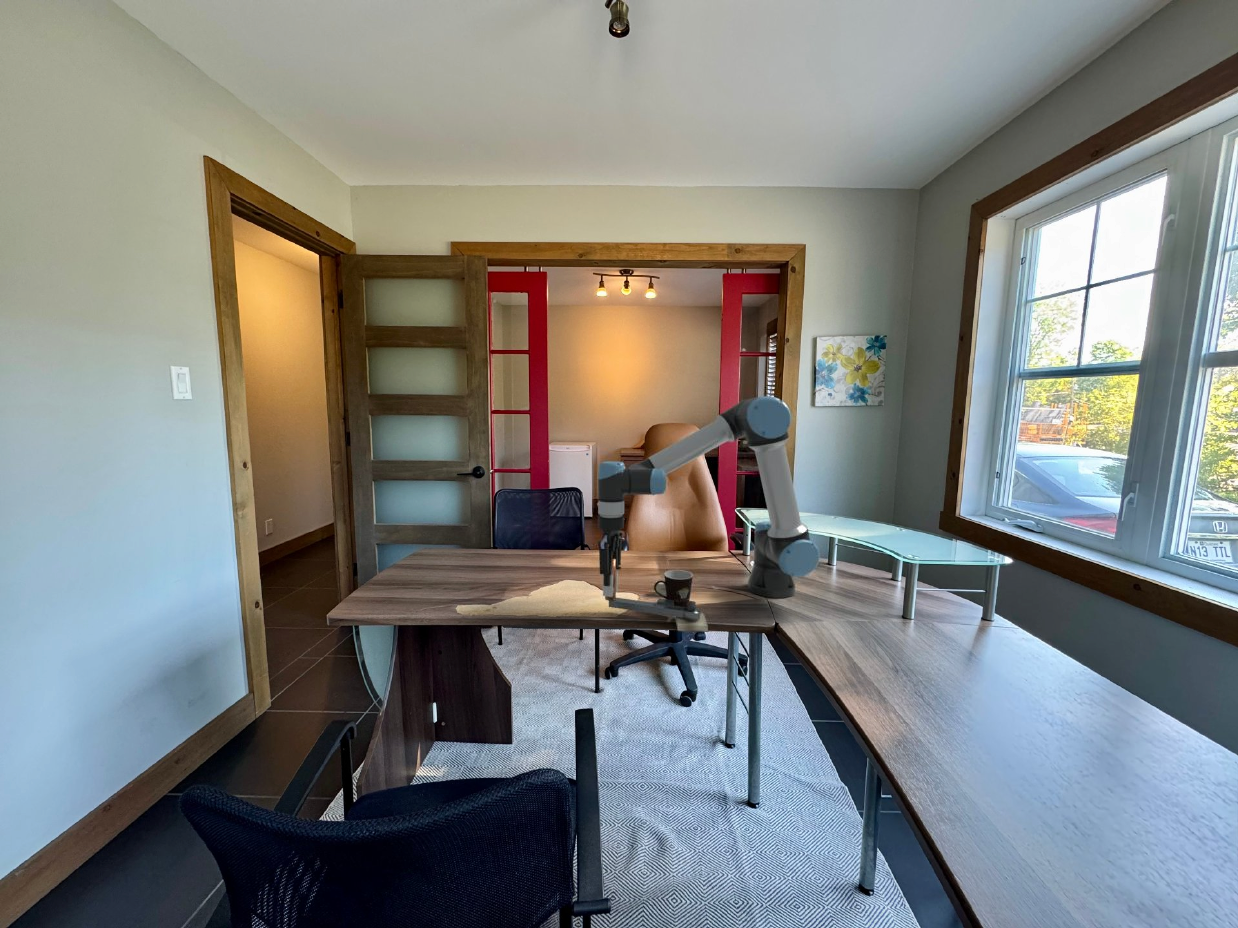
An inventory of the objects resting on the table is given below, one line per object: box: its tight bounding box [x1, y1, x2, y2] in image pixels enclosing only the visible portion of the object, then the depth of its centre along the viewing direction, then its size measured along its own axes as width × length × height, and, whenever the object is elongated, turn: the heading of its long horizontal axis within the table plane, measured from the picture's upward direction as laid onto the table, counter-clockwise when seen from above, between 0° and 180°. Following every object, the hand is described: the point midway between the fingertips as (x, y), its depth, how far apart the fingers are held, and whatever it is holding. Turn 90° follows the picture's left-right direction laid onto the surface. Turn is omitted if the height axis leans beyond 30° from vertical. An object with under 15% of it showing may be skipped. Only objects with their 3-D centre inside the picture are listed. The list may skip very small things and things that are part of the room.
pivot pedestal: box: [674, 600, 709, 632], centre depth 129 cm, size 8×8×6 cm
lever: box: [604, 558, 701, 621], centre depth 133 cm, size 28×6×14 cm, turn 70°
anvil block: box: [654, 580, 667, 597], centre depth 151 cm, size 10×3×4 cm, turn 88°
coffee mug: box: [653, 569, 694, 607], centre depth 142 cm, size 12×9×10 cm
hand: (610, 593), depth 137 cm, fingers closed on lever, 3 cm apart
